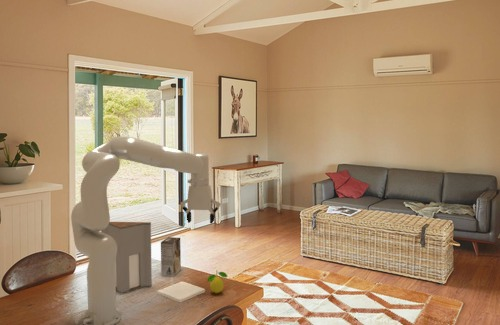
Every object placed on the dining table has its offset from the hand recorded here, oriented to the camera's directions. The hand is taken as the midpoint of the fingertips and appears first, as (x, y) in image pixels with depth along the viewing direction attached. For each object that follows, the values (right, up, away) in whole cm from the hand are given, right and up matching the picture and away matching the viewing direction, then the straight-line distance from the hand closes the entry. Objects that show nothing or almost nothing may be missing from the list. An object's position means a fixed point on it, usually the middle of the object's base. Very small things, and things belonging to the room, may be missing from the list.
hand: (200, 222), depth 185 cm
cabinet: (-32, -28, -2) cm, 43 cm away
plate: (-8, -29, -4) cm, 30 cm away
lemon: (+7, -29, -5) cm, 30 cm away
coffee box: (-16, -27, +19) cm, 36 cm away
